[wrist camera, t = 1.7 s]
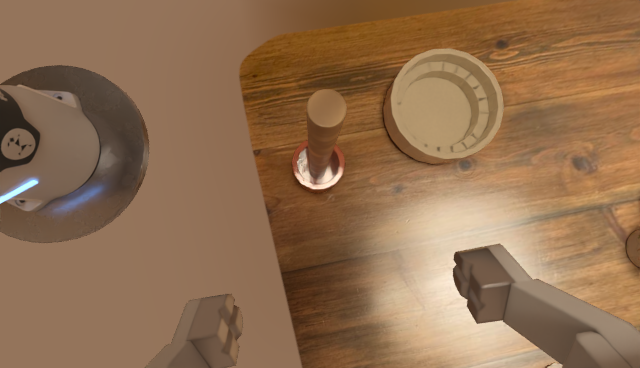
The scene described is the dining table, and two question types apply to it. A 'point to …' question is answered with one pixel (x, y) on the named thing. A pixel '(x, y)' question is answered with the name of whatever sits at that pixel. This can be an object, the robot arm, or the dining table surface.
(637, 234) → the mug
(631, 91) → the dining table surface
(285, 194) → the dining table surface
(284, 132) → the dining table surface
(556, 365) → the seashell
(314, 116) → the stick
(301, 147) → the utensil pot
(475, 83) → the bowl
